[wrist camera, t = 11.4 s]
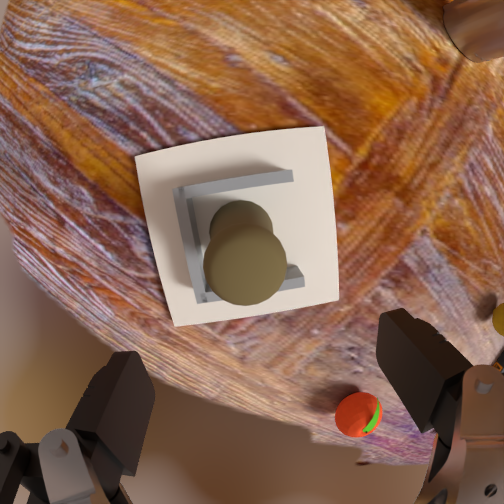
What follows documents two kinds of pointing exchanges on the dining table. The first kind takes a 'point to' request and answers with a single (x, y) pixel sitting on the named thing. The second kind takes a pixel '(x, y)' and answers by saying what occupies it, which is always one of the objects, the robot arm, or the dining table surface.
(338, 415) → the clementine
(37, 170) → the dining table surface
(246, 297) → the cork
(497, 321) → the lemon
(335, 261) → the U-rest
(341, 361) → the dining table surface
